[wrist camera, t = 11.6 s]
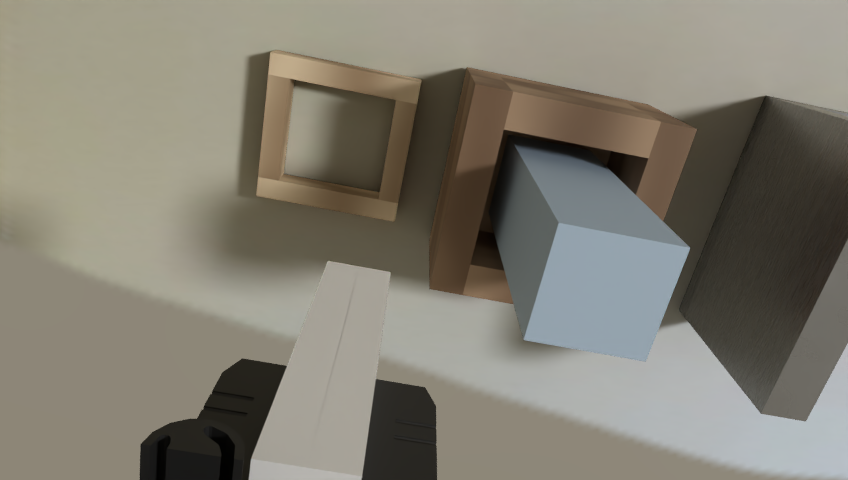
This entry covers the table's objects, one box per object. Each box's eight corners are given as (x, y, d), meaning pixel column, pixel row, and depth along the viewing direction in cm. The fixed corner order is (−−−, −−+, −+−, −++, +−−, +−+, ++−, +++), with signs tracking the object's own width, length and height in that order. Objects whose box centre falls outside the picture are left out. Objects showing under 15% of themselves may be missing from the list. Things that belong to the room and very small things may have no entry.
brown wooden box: (429, 239, 32) (429, 288, 27) (466, 67, 29) (475, 83, 23) (592, 270, 33) (625, 324, 27) (648, 104, 29) (697, 129, 24)
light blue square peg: (488, 212, 30) (523, 340, 19) (508, 134, 29) (558, 223, 18) (566, 227, 30) (645, 361, 19) (589, 150, 29) (690, 248, 18)
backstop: (679, 310, 34) (761, 413, 25) (765, 95, 29) (899, 135, 21) (763, 325, 34) (871, 432, 26) (861, 116, 30) (1030, 163, 21)
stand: (262, 188, 31) (256, 195, 30) (276, 49, 29) (270, 52, 28) (395, 213, 32) (394, 221, 31) (421, 79, 29) (421, 82, 28)
